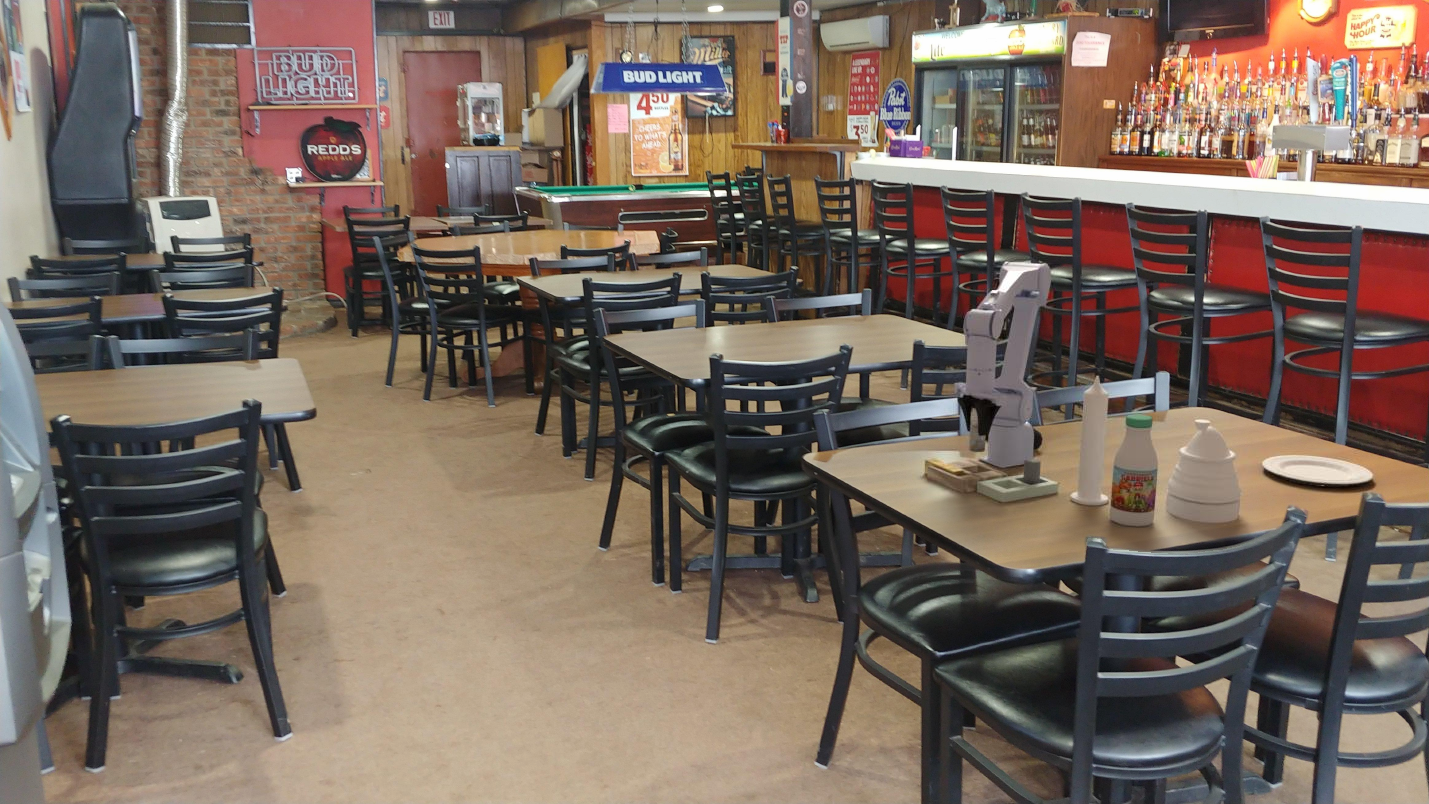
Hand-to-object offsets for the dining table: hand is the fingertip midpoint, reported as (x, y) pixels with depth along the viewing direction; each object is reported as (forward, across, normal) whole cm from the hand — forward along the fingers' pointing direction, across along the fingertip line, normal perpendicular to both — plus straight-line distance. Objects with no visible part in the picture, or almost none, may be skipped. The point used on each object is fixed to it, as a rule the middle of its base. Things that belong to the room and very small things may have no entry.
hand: (977, 432), depth 236 cm
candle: (+10, +20, +12) cm, 26 cm away
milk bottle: (+10, +34, +10) cm, 36 cm away
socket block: (+10, 0, -2) cm, 10 cm away
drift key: (+10, -4, -5) cm, 12 cm away
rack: (+10, +10, +2) cm, 15 cm away
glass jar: (+4, 0, 0) cm, 4 cm away
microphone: (+11, -21, +26) cm, 35 cm away
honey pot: (+11, +36, +26) cm, 45 cm away
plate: (+11, +30, +66) cm, 73 cm away
